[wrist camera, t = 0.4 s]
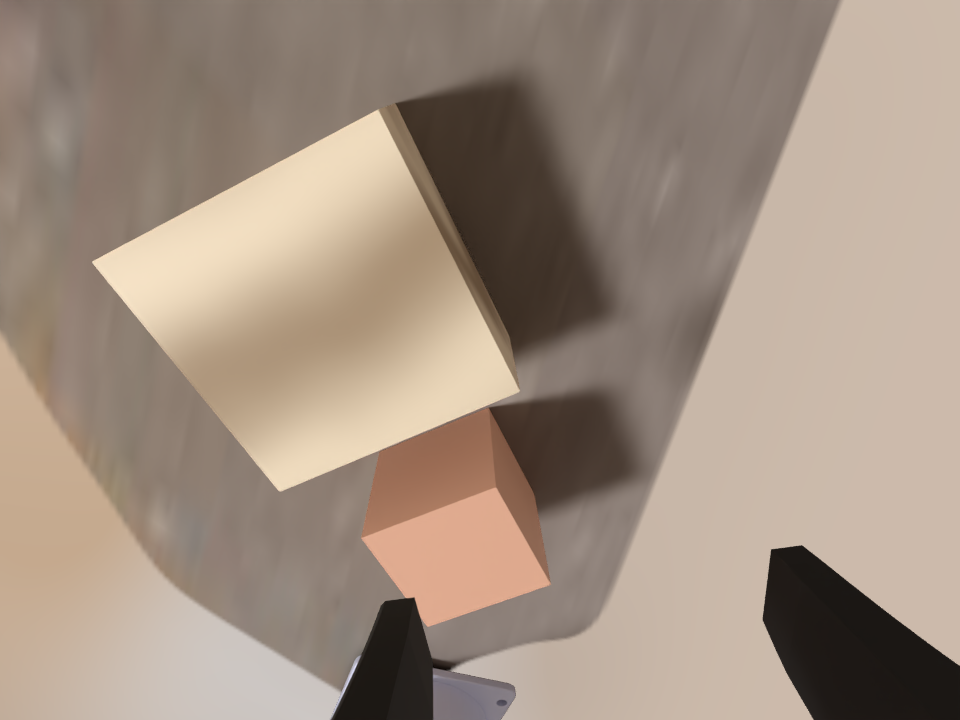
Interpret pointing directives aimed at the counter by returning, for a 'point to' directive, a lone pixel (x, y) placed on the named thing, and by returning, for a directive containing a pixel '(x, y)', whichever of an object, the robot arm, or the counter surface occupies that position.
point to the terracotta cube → (456, 520)
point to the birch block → (322, 304)
